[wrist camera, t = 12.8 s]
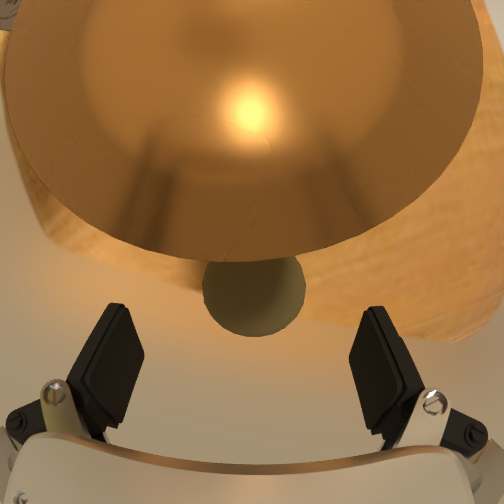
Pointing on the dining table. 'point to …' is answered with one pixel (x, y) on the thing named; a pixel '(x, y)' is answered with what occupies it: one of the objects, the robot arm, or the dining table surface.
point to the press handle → (241, 115)
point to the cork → (254, 294)
